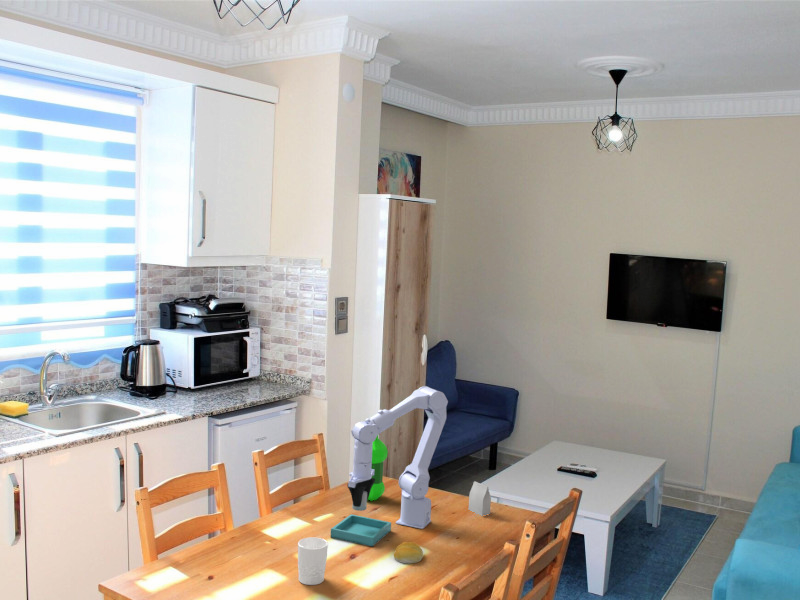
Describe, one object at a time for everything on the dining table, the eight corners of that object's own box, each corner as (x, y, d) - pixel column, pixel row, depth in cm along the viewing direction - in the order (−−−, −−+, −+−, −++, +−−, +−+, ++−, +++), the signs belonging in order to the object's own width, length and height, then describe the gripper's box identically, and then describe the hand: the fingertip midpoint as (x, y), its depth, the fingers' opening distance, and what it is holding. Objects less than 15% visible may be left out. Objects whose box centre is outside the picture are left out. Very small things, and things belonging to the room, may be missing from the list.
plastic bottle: (357, 492, 271) (361, 423, 269) (386, 494, 270) (390, 426, 268) (353, 501, 261) (356, 430, 259) (383, 504, 260) (387, 433, 258)
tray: (390, 530, 237) (391, 522, 236) (372, 546, 224) (372, 537, 223) (350, 522, 242) (351, 514, 242) (330, 537, 229) (330, 528, 229)
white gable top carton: (481, 517, 253) (483, 487, 252) (468, 510, 258) (470, 482, 258) (489, 515, 255) (491, 486, 254) (476, 508, 261) (478, 480, 260)
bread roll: (391, 562, 214) (392, 549, 213) (397, 550, 222) (398, 537, 222) (420, 566, 212) (421, 552, 212) (425, 553, 221) (425, 540, 221)
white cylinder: (369, 507, 236) (369, 492, 236) (361, 511, 233) (362, 495, 232) (357, 504, 238) (357, 489, 238) (349, 508, 235) (350, 493, 234)
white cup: (297, 572, 204) (298, 536, 203) (326, 573, 204) (328, 537, 204) (295, 586, 196) (297, 549, 195) (326, 586, 197) (327, 549, 196)
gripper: (361, 453, 242) (359, 494, 243) (340, 464, 229) (338, 508, 230) (381, 457, 240) (378, 498, 241) (361, 468, 226) (358, 512, 227)
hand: (360, 503), depth 235 cm, fingers closed on white cylinder, 4 cm apart
